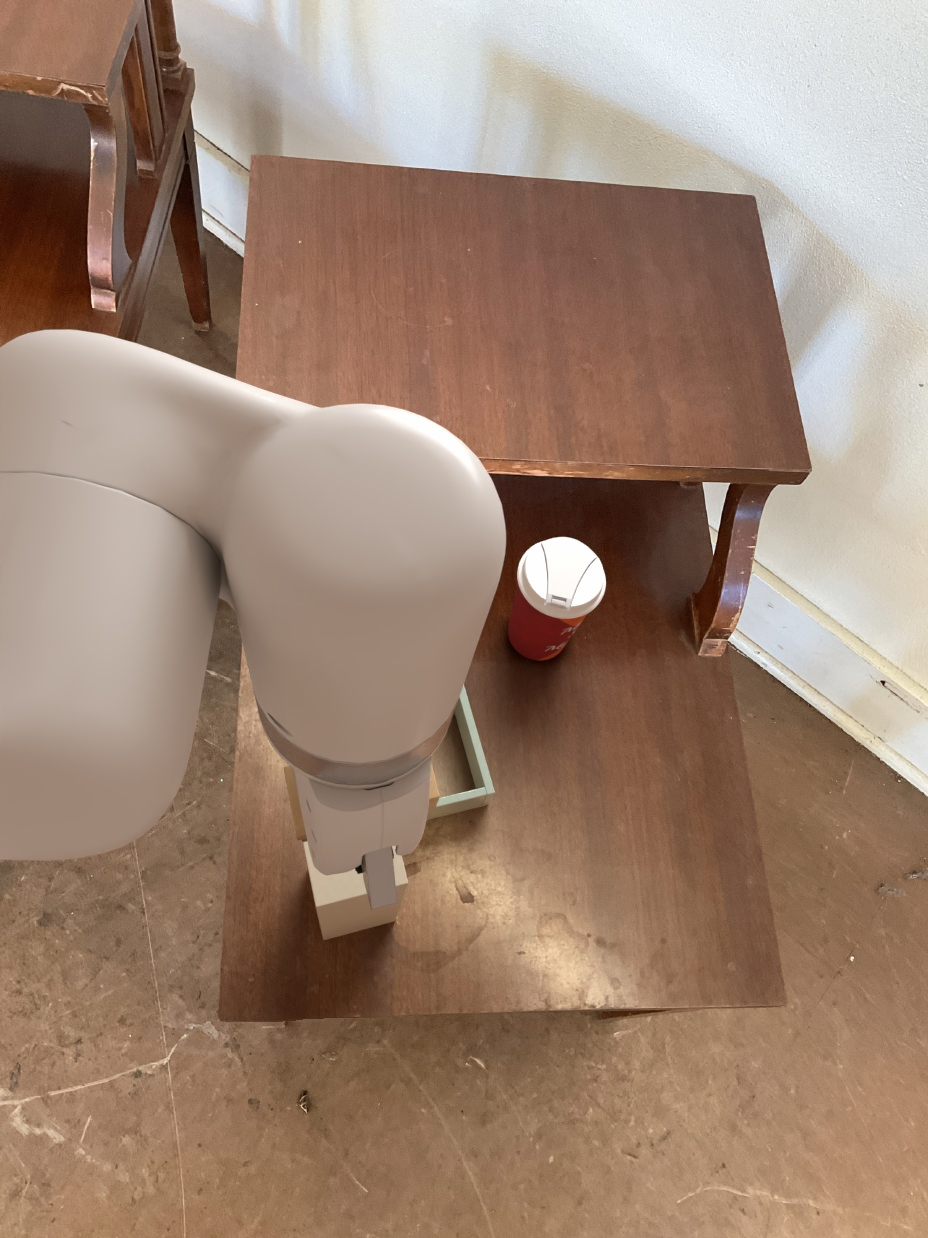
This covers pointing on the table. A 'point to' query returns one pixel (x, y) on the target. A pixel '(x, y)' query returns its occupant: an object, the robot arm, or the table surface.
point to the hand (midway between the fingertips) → (351, 801)
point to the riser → (351, 899)
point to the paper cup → (553, 596)
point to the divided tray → (477, 767)
